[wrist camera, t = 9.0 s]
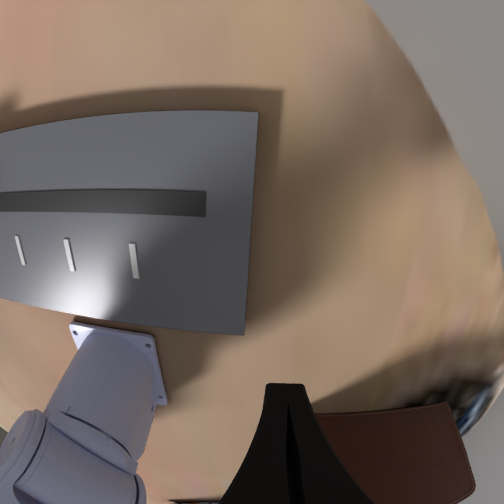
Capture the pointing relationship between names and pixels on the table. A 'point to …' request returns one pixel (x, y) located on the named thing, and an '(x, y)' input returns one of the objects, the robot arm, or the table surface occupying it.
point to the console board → (131, 217)
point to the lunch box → (202, 503)
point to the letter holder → (403, 453)
